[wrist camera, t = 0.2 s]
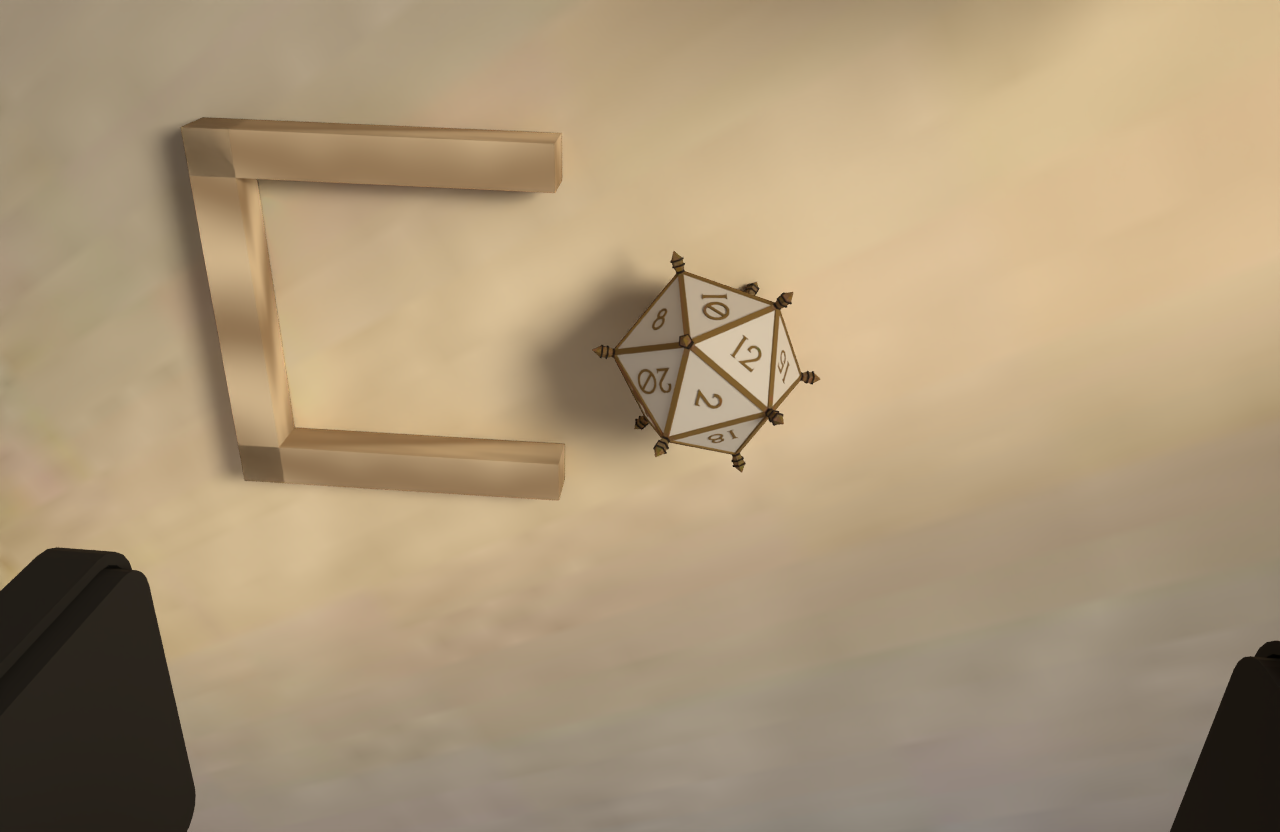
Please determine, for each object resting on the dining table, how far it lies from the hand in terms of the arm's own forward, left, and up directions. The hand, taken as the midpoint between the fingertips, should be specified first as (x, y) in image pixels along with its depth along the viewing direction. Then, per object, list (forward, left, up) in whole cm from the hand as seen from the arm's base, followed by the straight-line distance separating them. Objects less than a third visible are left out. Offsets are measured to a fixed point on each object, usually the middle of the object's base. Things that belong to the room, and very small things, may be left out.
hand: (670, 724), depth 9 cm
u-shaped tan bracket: (+11, -13, -36) cm, 40 cm away
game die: (+11, 0, -37) cm, 38 cm away
